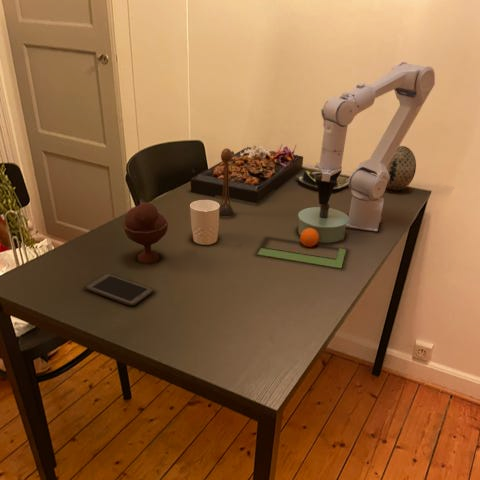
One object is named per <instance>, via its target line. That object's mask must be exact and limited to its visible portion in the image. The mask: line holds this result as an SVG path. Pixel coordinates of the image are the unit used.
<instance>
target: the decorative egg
mask: <svg viewBox="0 0 480 480" xmlns="http://www.w3.org/2000/svg"><path fill="white" fill-rule="evenodd" d="M415 156H416V155H415V154H414V152H413V151H412V150H411V148H409V147H407V146H405V145H400V146H399V147H398V149H397V151H396V152H395V154H394V156H393V158H392V159H391V161H390V163H389V164H388V166H387V170H388V173H389V176H390V179H389V180H388V182H387V185H386V189H388V190H390V191H396V192H397V191H401V190H403V189H405V188H407V187H408V186H409V185H410V184H411V183H412V181H413V180H414V178H415V175H416V170H417V160H416V157H415Z"/></svg>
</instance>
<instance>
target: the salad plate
mask: <svg viewBox="0 0 480 480" xmlns="http://www.w3.org/2000/svg"><path fill="white" fill-rule="evenodd" d="M294 177H295V178H297V179H298V181H299V184H300V185H301V186H302V187H304V188H307V189H308V190H312V191H315V192H318V187H317V184H316V181H315V179H316V177H322V173H321V172H320V171H313V172H310V170H305V171H304V172H303V174H297V175H296V174H295V176H294ZM347 186H349V177H348V178H347V177H342V176H340V175H339V176H338V178H337V183H336V185H335V186H334V188H333V191H332V193H334V192H337V191H340V190H342V189H344V188H346V187H347Z"/></svg>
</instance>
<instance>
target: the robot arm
mask: <svg viewBox="0 0 480 480" xmlns="http://www.w3.org/2000/svg"><path fill="white" fill-rule="evenodd" d="M435 76H436V75H435V69H434V68H433V67H432V66H428V65H427V66H424V65H420V64H419V65H418V64H412V63H408V62H405V61H404V62H403V61H402V62H400V63H398V64H396V65H394V66H392V68H391V71H389V72H387V73H386V74H385V75H383V76H381V77H380V78H378V79H377V80H376V81H374V82H372V83H371V84H368V83H362V82H358V83H357V84H356V87H355V88H352V89H351V90H349V91H347V92H346V91H345V92H342V94H341V95H340V96H338V97H337V96H331V97H330V98H328V100H326V101H325V103H324V105H323V107H322V108H321V109H320V110H321V113H320V114H321V117H322V121H323V124H322V126H323V134H322V143H321V149H320V150H321V151H320V158H319V162H316V163H315V164H314V168H315V169H318V170H319V172H321V173H322V177H316V179H315V181H316V184H317V187H318V191H317V192H318V205H320V206H321V205H327V204H329V201H330V198H331V196H332V194H333V192H332V191H333V188H334V186H335V185H336V183H337V178H338V176H340V175H341V174H342V172H343V171H342V170H343V166H342V164H343V159H344V158H343V157H344V151H345V144H346V140H347V133H348V127H349V125H350V124H352V122H353V121H354V119H355V117H357V116H358V114H360V113H362V112H363V111H366V110H367V109H369V108H370V107H372V106H373V105H374V103H375V101H376V99H377V98H379V97H381V96H384V95H385V94H387V93H389V92H392V91H394V94H395V96H396V97H395V98H396V99H397V101H399V106H398V108H397V110H396V112H395V114H394V115H393V117H392V119H391V121H390V122H389V124H388V126H387V127H386V130H385V131H384V133H383V134H382V136H381V138H380V140H379V142H378V144H377V145H376V147H375V149H374V150H373V152H372V154H371V156H370V158H368V159H366V160H364V161H361V162H360V163H359V164H358V166H357V168H356V169H355V170H353V171H352V173H351V174H350V175H349V177H348V179H349V185H348V188H349V189H350V194H352V195H351V201H350V205H349V206H350V207H349V212H348V215H347V216H348V217H349V222H348V224H347V225H346V228H347V229H348V228H349V229H354V230H355V229H356V230H361V231H369V232H378V230H379V227H380V224H381V222H382V212H383V207H384V201H385V198H384V197H382V196H383V195H384V193H385V191H386V189H387V187H386V185H387V182H388V180H389V179H390V176H389V173H388V170H387V166H388V164H389V163H390V161H391V159H392V158H393V156H394V154H395V152H396V151H397V149H398V147H399V146H401V144H402V142H403V140H404V138H405V137H406V135H407V133H408V132H409V130H410V128H411V127H412V125H413V123H414V122H415V120H416V118H417V117H418V115H419V113H420V111H421V109H422V107H423V105H424V104H425V102H426V101H427V98H428V97H429V95H430V94H431V92H432V90H433V88H434V87H435V85H436V79H435V78H436V77H435Z"/></svg>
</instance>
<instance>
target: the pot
mask: <svg viewBox="0 0 480 480" xmlns="http://www.w3.org/2000/svg"><path fill="white" fill-rule="evenodd" d="M346 225H347V224H346ZM346 225H345V226H343V227H340V228H333V229H325V228H317V227H312V226H309V225H307V224H304V223H303V222H301V221H300V220H299V219H298V226H297V227H298V229H297V232H298V235H301V233H302V231H303V230H305V229H307V228H313V229H315V230H316V231H317V232H318V235H319V240H318V242H317V243H326V244H327V243H328V244H329V243H336V242H339V241H340V242H342V241H343V240H344V239H345V237H346V236H345V235H346V230H347V227H346Z"/></svg>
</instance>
